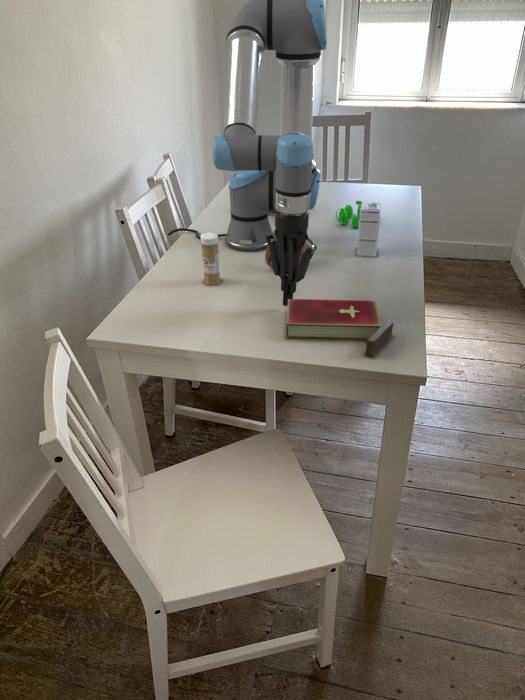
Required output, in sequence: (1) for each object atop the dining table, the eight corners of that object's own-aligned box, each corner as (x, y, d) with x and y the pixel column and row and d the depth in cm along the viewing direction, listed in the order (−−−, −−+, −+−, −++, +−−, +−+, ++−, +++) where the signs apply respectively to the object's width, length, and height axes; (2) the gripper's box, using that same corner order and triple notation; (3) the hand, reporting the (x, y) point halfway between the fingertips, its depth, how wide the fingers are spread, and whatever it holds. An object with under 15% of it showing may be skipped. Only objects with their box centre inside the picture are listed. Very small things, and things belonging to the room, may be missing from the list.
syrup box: (376, 257, 156) (381, 209, 148) (356, 255, 157) (360, 208, 149) (376, 249, 161) (382, 202, 153) (357, 248, 162) (361, 201, 154)
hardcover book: (287, 312, 131) (287, 297, 128) (373, 313, 129) (375, 298, 127) (286, 338, 121) (286, 322, 118) (379, 340, 119) (381, 324, 117)
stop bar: (365, 355, 115) (366, 340, 112) (384, 334, 121) (387, 320, 119) (371, 357, 114) (373, 342, 112) (391, 337, 121) (393, 322, 118)
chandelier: (376, 232, 172) (378, 211, 168) (330, 227, 176) (332, 207, 172) (382, 216, 184) (384, 197, 180) (339, 212, 188) (341, 193, 184)
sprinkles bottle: (201, 284, 144) (197, 237, 136) (208, 276, 147) (205, 230, 139) (216, 286, 142) (213, 239, 135) (223, 279, 146) (220, 233, 138)
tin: (268, 274, 148) (268, 246, 143) (263, 269, 150) (263, 241, 146) (314, 263, 154) (315, 235, 149) (308, 259, 156) (309, 231, 151)
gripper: (258, 209, 117) (258, 301, 131) (307, 222, 111) (301, 318, 125) (278, 199, 122) (275, 290, 136) (325, 212, 116) (317, 305, 130)
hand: (287, 303), depth 130 cm, fingers closed
